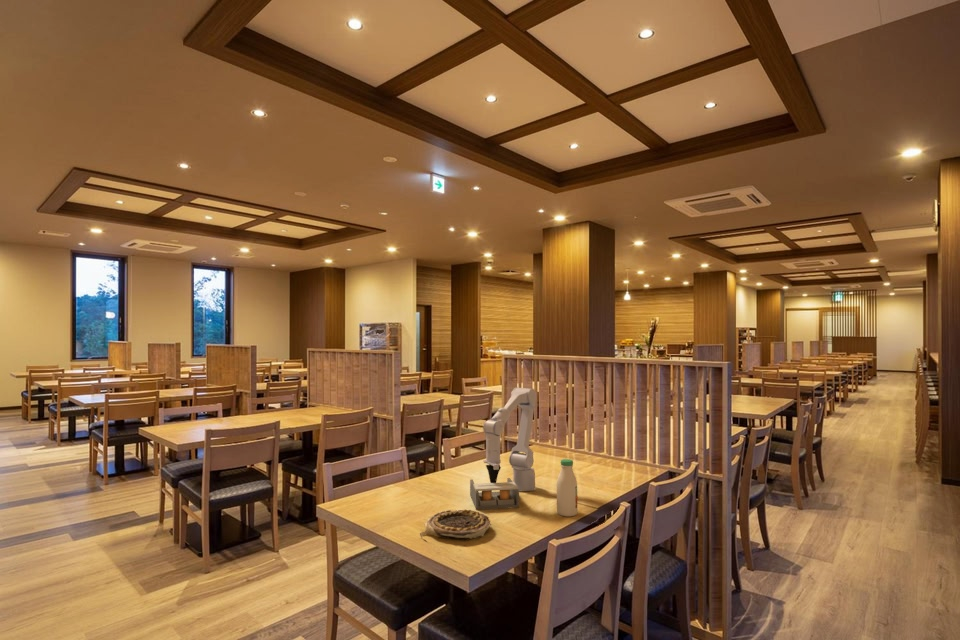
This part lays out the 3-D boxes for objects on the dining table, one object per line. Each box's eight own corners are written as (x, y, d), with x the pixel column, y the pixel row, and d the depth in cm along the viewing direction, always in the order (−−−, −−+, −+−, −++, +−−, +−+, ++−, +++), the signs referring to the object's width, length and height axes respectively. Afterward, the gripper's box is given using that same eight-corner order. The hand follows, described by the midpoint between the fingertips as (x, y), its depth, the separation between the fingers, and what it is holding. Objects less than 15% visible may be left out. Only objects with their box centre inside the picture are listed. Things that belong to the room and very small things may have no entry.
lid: (514, 484, 204) (514, 481, 204) (518, 489, 197) (518, 486, 197) (473, 485, 202) (473, 483, 202) (475, 491, 195) (475, 488, 195)
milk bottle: (572, 518, 184) (572, 463, 184) (553, 514, 188) (553, 460, 189) (580, 512, 190) (580, 459, 191) (561, 508, 194) (561, 456, 195)
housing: (509, 493, 213) (509, 477, 214) (519, 507, 195) (519, 490, 196) (470, 495, 211) (470, 479, 211) (476, 509, 193) (476, 492, 193)
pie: (478, 513, 190) (478, 500, 190) (515, 540, 166) (515, 525, 166) (407, 526, 177) (407, 512, 178) (436, 557, 153) (436, 540, 153)
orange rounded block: (508, 500, 202) (508, 487, 202) (510, 503, 198) (510, 490, 198) (498, 500, 201) (498, 487, 201) (500, 503, 197) (500, 490, 197)
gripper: (480, 446, 212) (480, 478, 211) (486, 454, 198) (486, 488, 197) (497, 445, 213) (497, 477, 213) (503, 453, 199) (504, 488, 198)
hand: (493, 483), depth 205 cm, fingers closed
